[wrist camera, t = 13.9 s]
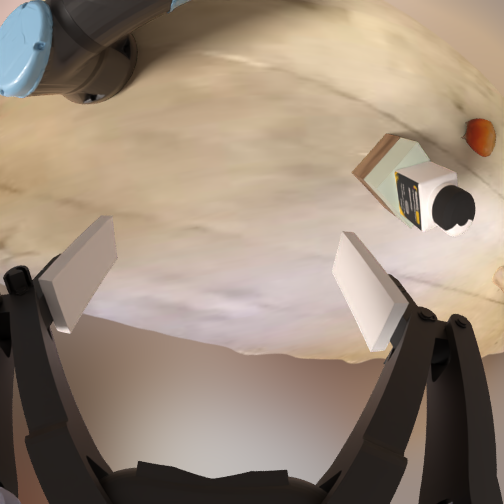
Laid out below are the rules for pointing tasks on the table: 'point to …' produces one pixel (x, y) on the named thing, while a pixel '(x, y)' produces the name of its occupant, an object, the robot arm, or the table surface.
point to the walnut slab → (375, 163)
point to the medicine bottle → (434, 198)
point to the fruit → (480, 136)
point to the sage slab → (384, 177)
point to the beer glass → (499, 278)
